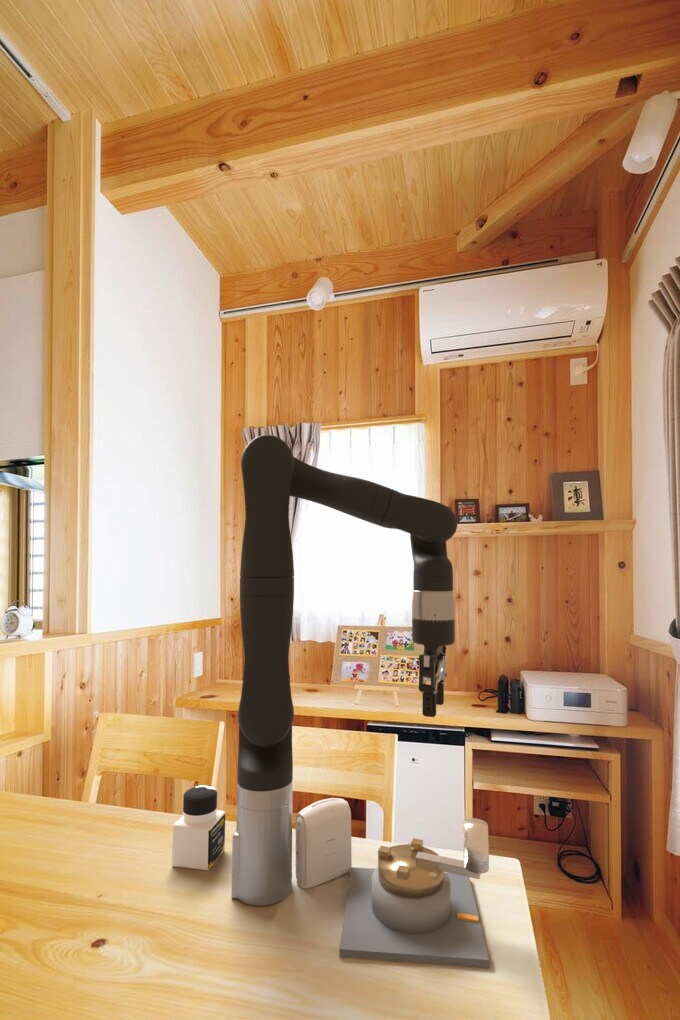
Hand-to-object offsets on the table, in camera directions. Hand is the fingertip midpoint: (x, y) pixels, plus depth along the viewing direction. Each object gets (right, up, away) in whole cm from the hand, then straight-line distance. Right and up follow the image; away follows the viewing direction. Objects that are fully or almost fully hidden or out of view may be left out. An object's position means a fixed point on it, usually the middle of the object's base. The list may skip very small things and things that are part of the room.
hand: (433, 709), depth 95 cm
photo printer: (-19, -28, -2) cm, 34 cm away
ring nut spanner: (-2, -22, -13) cm, 25 cm away
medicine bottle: (-42, -29, +4) cm, 51 cm away
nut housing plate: (-6, -27, -12) cm, 30 cm away
